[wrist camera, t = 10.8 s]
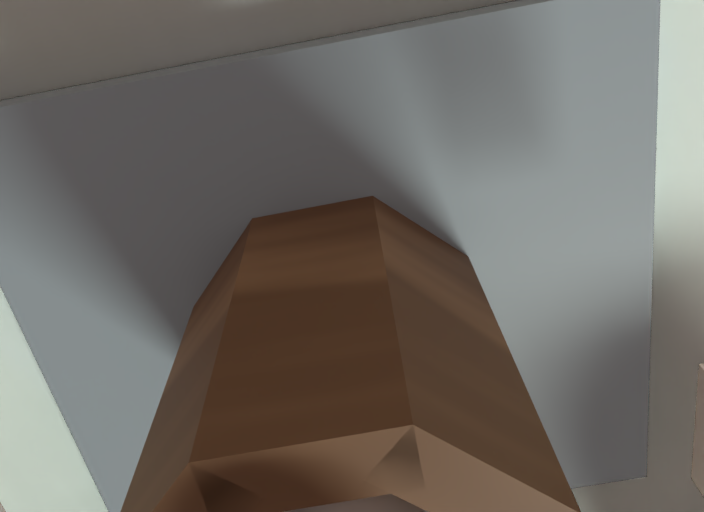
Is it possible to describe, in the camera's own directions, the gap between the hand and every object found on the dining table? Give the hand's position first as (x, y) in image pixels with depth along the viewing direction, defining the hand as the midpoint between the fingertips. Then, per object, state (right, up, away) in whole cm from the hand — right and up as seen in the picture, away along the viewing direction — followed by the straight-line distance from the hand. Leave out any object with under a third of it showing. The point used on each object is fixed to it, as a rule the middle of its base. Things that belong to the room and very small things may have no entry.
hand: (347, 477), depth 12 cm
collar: (0, +2, +5) cm, 5 cm away
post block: (0, +3, +6) cm, 6 cm away
